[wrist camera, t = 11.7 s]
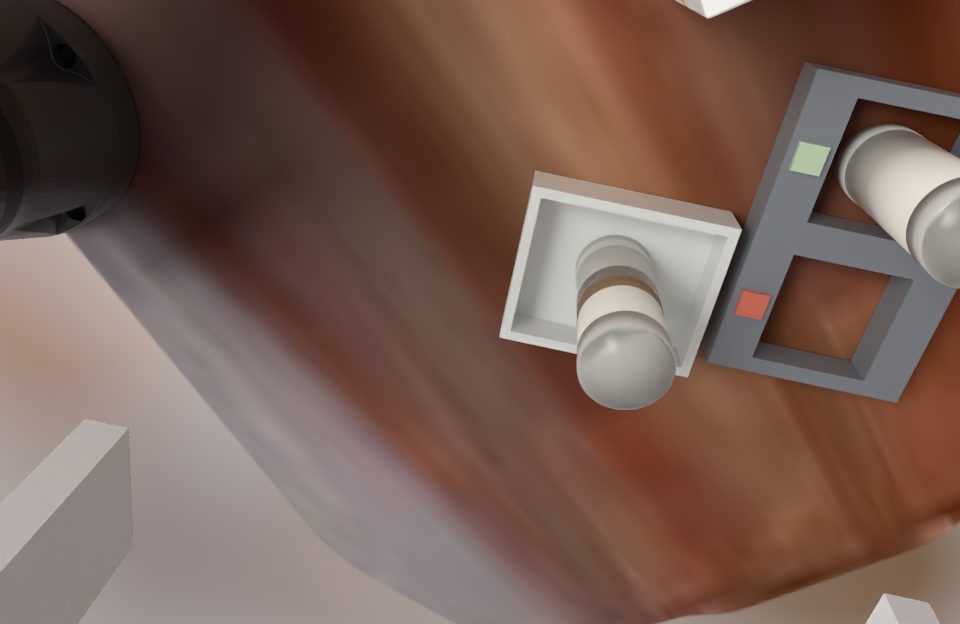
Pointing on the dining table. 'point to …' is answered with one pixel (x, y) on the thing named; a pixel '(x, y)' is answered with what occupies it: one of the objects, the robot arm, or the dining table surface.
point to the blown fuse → (621, 326)
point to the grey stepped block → (711, 6)
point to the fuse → (907, 193)
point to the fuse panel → (827, 247)
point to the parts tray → (614, 211)
